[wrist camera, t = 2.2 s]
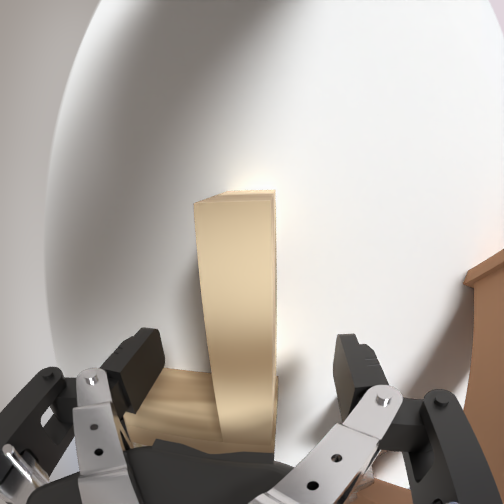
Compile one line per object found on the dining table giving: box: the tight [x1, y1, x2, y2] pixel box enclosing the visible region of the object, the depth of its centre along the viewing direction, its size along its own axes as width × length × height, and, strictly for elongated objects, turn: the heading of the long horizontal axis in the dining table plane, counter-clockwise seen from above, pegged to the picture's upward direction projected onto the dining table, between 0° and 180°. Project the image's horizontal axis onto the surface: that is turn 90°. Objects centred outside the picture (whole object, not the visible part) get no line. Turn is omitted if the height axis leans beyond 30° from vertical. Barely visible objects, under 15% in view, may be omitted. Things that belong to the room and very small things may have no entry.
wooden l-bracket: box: [123, 190, 278, 454], centre depth 14 cm, size 14×9×6 cm, turn 2°
